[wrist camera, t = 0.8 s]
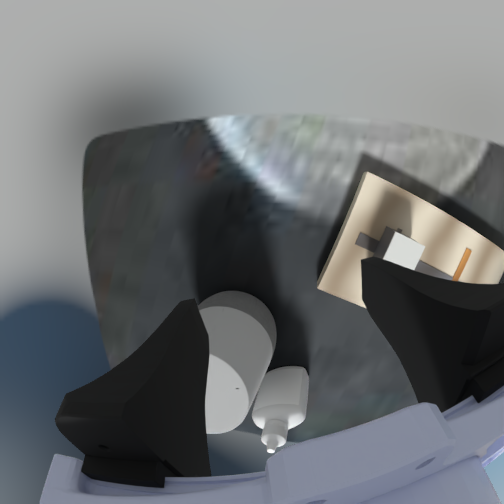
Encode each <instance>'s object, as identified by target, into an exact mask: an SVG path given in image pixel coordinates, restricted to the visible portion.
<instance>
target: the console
mask: <svg viewBox="0 0 504 504" xmlns="http://www.w3.org/2000/svg"><path fill="white" fill-rule="evenodd" d="M386 226H388V227H390V228H392V229H394V230H396V231H398V232H400V233H402V234H404V235H406V236H408V237H410V238H412V239H414V240H415V241H417V242H418V243H420V244H422V245H424V246H425V248H424V251H423V253H422V255H421V257H420V259H419V261H418V263H417V265H416V267H415V271H418V272H421V273H424V274H427V275H430V276H434V277H438V278H443V279H447V280H452V281H458V282H466V283H476V284H498V283H499V281H500V279H501V276H502V274H503V272H504V251H503V250H502V249H500V248H499V247H498V246H496V245H495V244H493V243H492V242H491V241H489V240H488V239H486V238H485V237H483V236H482V235H480V234H479V233H477V232H476V231H474V230H473V229H471V228H470V227H468V226H466V225H465V224H463V223H462V222H460V221H458V220H457V219H455V218H454V217H452V216H450V215H449V214H447V213H445V212H444V211H442V210H440V209H438V208H437V207H435V206H433V205H431V204H430V203H428V202H426V201H424V200H423V199H421V198H419V197H417V196H415V195H413V194H411V193H410V192H408V191H406V190H404V189H402V188H400V187H398V186H396V185H394V184H392V183H390V182H388V181H386V180H384V179H382V178H380V177H378V176H376V175H373V174H371V173H369V172H364V173H363V175H362V178H361V181H360V183H359V186H358V188H357V191H356V193H355V196H354V198H353V201H352V203H351V206H350V208H349V211H348V213H347V216H346V218H345V220H344V223H343V225H342V227H341V230H340V232H339V234H338V237H337V239H336V241H335V244H334V246H333V248H332V250H331V253H330V255H329V257H328V259H327V261H326V264H325V266H324V268H323V270H322V272H321V274H320V277H319V279H318V281H317V288H318V289H320V290H323V291H325V292H328V293H330V294H332V295H335V296H337V297H340V298H342V299H345V300H347V301H350V302H352V303H355V304H357V305H359V306H362V307H364V308H366V306H365V304H364V302H363V300H362V277H361V259H365V258H369V257H373V254H374V252H375V250H376V248H377V246H378V243H379V241H380V239H381V237H382V235H383V232H384V230H385V228H386Z"/></svg>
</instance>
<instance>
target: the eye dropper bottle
mask: <svg viewBox="0 0 504 504" xmlns="http://www.w3.org/2000/svg"><path fill="white" fill-rule="evenodd" d="M308 387H309V377H308V374H307V371H306V369H305V368H303V367H300V366H285V367H280V368H276V369H274V370H271V371H269V372H268V373H266V374H265V375H264V378H263V380H262V382H261V385H260V388H259V391H258V395H257V398H256V402H255V405H254V408H253V412H252V418H253V420H254V422H255V424H256V425H257V426H258V427H260V428H262V429H263V432H262V436H261V441H262V442H263V443H264V444H265V445H267V451H268V452H269V453H274V452H275V450H276V448H277V447H280V446H282V445H284V444H285V443H286V438H287V432H288V429H290V428H293V427H295V426H297V425H298V424H300V423H302V422H303V421H304V419H305V416H306V409H307V398H308Z"/></svg>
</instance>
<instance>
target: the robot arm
mask: <svg viewBox="0 0 504 504" xmlns="http://www.w3.org/2000/svg"><path fill="white" fill-rule="evenodd" d="M361 277H362V300H363V302H364V304H365V306H366V308H367V310H368V312H369V314H370V316H371V317H372V319H373V320H374V322H375V323H376V325H377V326H378V328H379V329H380V330H381V332H382V333H383V335H384V336H385V338H386V339H387V340H388V342H389V343H390V345H391V346H392V348H393V349H394V351H395V352H396V354H397V356H398V357H399V359H400V361H401V363H402V365H403V367H404V369H405V371H406V373H407V376H408V378H409V380H410V382H411V385H412V387H413V389H414V392H415V394H416V397H417V400H418V402H419V404H416V405H413V406H409V407H406V408H403V409H401V410H399V411H396V412H394V413H391V414H389V415H386V416H384V417H381V418H379V419H376V420H373V421H370V422H368V423H365V424H362V425H359V426H356V427H353V428H350V429H346V430H343V431H340V432H336V433H333V434H329V435H326V436H322V437H318V438H314V439H310V440H306V441H303V442H300V443H298V444H295V445H292V446H288V447H285V448H283V449H282V450H280V451H279V452H278V453H276V454H274V455H273V456H271V457H270V458H269V459H268V460H267V463H266V467H265V471H263V472H256V473H249V474H239V475H228V476H214V477H211V470H210V464H209V455H208V447H207V434H206V417H205V396H206V386H207V376H208V366H209V356H210V354H209V335H208V332H207V330H206V327H205V325H204V322H203V320H202V317H201V314H200V312H199V309H198V306H197V304H196V301H195V298H194V299H189V300H185V301H181V302H180V303H179V304H178V305H177V306H176V307H175V308H174V309H173V311H172V312H171V313H170V314H169V315H168V317H167V318H166V319H165V320H164V321H163V323H162V324H161V325H160V326H159V327H158V328H157V330H156V331H155V332H154V333H153V334H152V335H151V336H150V337H149V338H148V339H147V340H146V341H145V342H144V343H143V344H142V345H141V346H140V347H139V348H138V349H137V350H136V351H135V352H134V353H133V354H131V355H130V356H129V357H128V358H127V359H125V360H124V361H123V362H121V363H120V364H119V365H117V366H116V367H114V368H113V369H112V370H110V371H109V372H107V373H106V374H104V375H103V376H101V377H99V378H97V379H96V380H94V381H92V382H90V383H89V384H87V385H85V386H82V387H81V388H78V389H76V390H74V391H72V392H69V393H67V394H66V395H65V397H64V399H63V402H62V404H61V406H60V408H59V411H58V413H57V415H56V418H55V422H56V425H57V427H58V429H59V430H60V432H61V433H62V434H63V435H64V436H65V437H66V438H67V439H68V440H69V441H70V442H72V444H74V445H75V446H76V447H77V448H78V449H79V450H80V451H81V452H83V453H84V454H85V458H84V462H83V461H82V460H79V459H77V458H74V457H68V456H64V455H60V454H55V455H54V458H53V461H52V463H51V466H50V469H49V473H48V476H47V479H46V482H45V485H44V489H43V492H42V496H41V499H40V504H501V502H500V500H499V498H498V495H497V493H496V491H495V489H494V487H493V485H492V483H491V481H490V479H489V477H488V475H487V473H486V472H485V470H484V467H485V466H486V465H488V464H489V463H490V462H491V461H493V460H494V459H495V458H497V457H498V456H499V455H500V454H501V453H503V452H504V284H476V283H466V282H458V281H452V280H447V279H443V278H438V277H434V276H430V275H427V274H424V273H421V272H418V271H415V270H412V269H409V268H406V267H403V266H401V265H398V264H395V263H393V262H390V261H387V260H384V259H381V258H378V257H374V256H373V257H369V258H365V259H361Z"/></svg>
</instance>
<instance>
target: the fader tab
mask: <svg viewBox="0 0 504 504" xmlns="http://www.w3.org/2000/svg"><path fill="white" fill-rule="evenodd" d="M424 248H425V246H424V245H422V244H420V243H418V242H417V241H415V240H414V239H412V238H410V237H408V236H406V235H404V234H402V233H400V232H398V231H396V230H394V229H392V228H390V227H388V226H386V228H385V230H384V232H383V235H382V237H381V239H380V241H379V243H378V246H377V248H376V250H375V252H374V254H373V256H374V257H378V258H381V259H384V260H387V261H390V262H393V263H395V264H398V265H401V266H403V267H406V268H409V269H412V270H415V267H416V265H417V263H418V261H419V259H420V257H421V255H422V253H423V251H424Z"/></svg>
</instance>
